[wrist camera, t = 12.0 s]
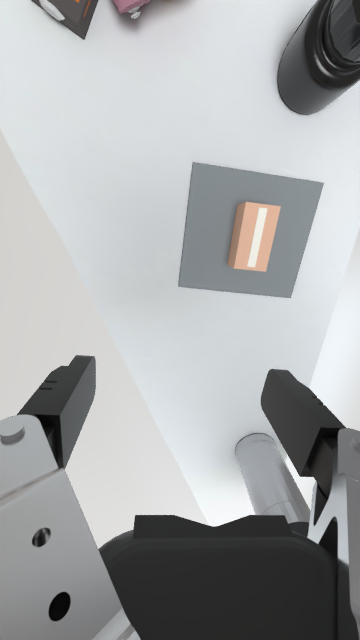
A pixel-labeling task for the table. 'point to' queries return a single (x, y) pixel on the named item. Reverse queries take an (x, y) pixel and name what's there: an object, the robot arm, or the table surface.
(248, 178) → the mat
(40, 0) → the electronic device
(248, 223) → the box
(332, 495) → the robot arm
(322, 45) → the ink bottle
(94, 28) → the table surface
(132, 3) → the video game controller
